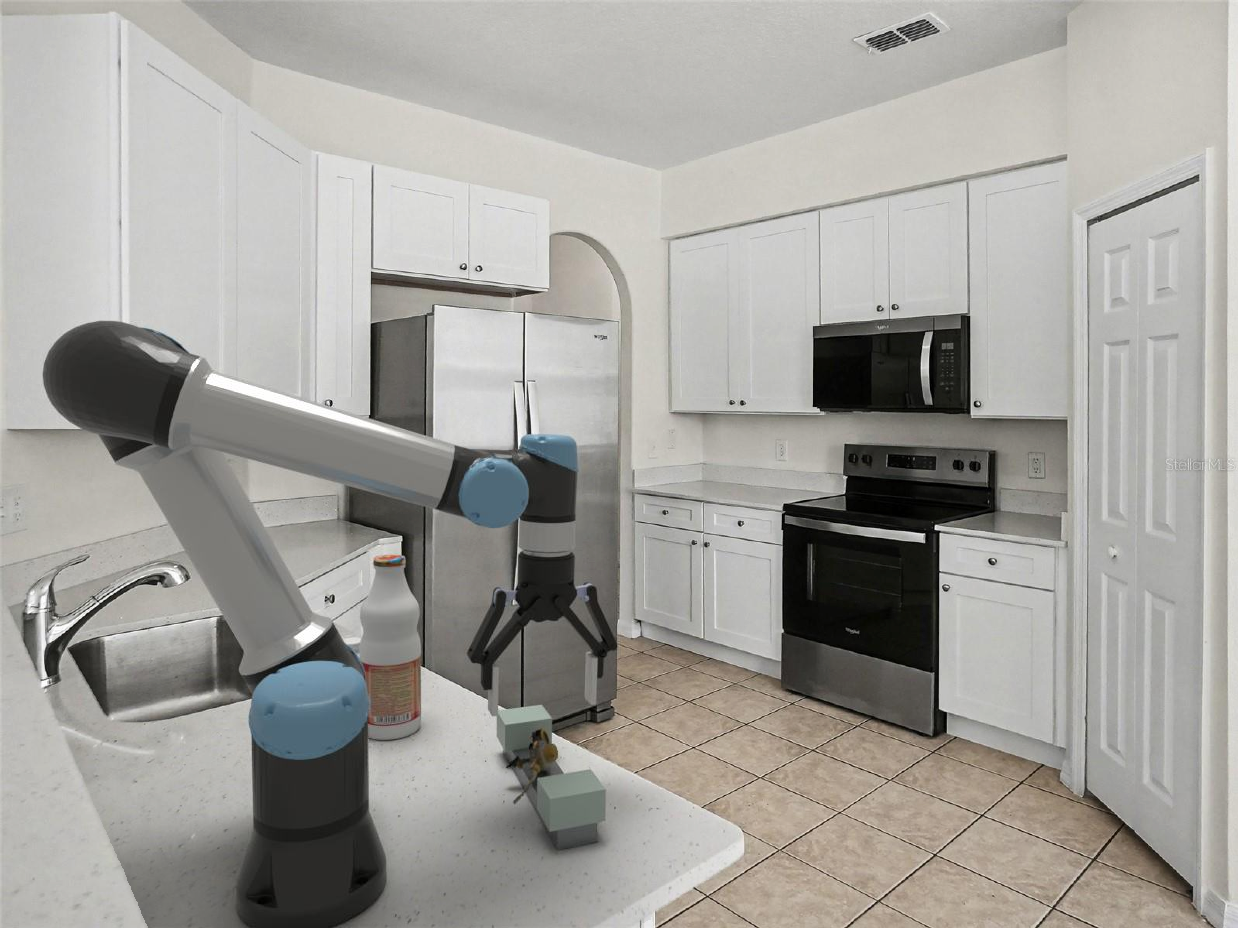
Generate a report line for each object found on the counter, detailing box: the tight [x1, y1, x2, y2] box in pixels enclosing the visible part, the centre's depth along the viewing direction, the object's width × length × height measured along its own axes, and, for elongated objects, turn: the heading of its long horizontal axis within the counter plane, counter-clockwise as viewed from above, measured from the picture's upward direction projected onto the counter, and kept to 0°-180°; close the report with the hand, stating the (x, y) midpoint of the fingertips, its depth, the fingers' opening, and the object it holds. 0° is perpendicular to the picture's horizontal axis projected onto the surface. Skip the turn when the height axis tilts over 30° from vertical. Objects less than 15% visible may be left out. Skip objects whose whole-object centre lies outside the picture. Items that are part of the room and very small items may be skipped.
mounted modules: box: [496, 704, 607, 832], centre depth 108 cm, size 7×28×4 cm, turn 21°
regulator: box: [505, 728, 559, 805], centre depth 107 cm, size 8×4×15 cm
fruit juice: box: [359, 554, 422, 741], centre depth 127 cm, size 9×9×28 cm
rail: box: [502, 748, 599, 851], centre depth 108 cm, size 5×28×2 cm, turn 21°
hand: (542, 706), depth 107 cm, fingers open, 13 cm apart
